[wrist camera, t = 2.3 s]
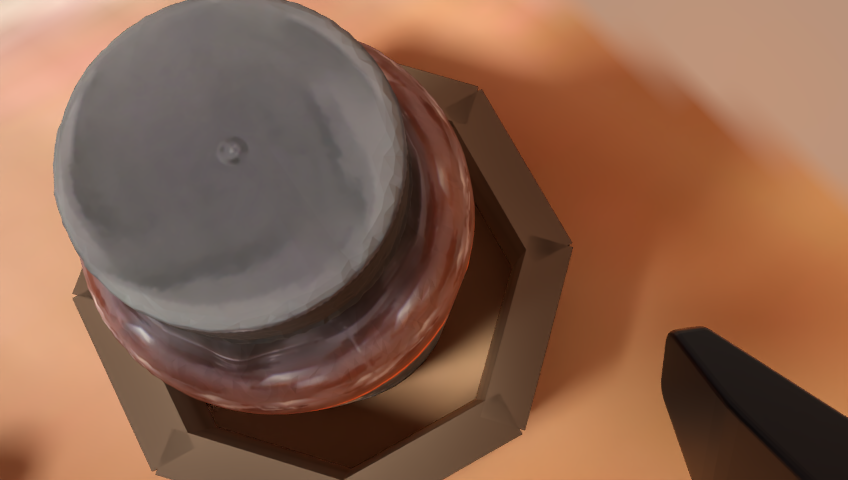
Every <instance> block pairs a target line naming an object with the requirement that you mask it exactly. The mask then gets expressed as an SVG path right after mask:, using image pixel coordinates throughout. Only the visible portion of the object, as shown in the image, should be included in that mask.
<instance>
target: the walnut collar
mask: <svg viewBox="0 0 848 480" xmlns="http://www.w3.org/2000/svg"><path fill="white" fill-rule="evenodd" d="M399 65H400V66H402V67H403V68H404V69H405V70H406V71H407V72H408V73H409V74H410V75H412V76H413V77H414V78H415V79H416V80H417V81H418V82H419V83H420V84H421V85H422V86H423V87H424V88H425V89H426V90H427V92H428V93H429V94H430V95H431V96H432V97H433V98H434V99H435V101H436V102H437V103H438V105H439V106H440V108H441V109H442V110H443V112H444V114H445V115H446V117H447V119H448V121H449V123H450V124H451V126H452V127H453V130H454V132H455V134H456V136H457V138H458V140H459V142H460V145H461V147H462V150H463V152H464V155H465V159H466V163H467V167H468V171H469V175H470V180H471V185H472V190H473V197H474V202H475V203H476V205H477V207H478V209H479V211H480V212H481V214H482V216H483V218H484V219H485V221H486V223H487V225H488V226H489V228H490V230H491V232H492V233H493V235H494V237H495V239H496V240H497V242H498V244H499V246H500V247H501V249H502V251H503V253H504V254H505V256H506V258H507V260H508V261H509V263H510V265H511V267H512V269H511V272H510V276H509V280H508V283H507V287H506V290H505V294H504V298H503V301H502V305H501V309H500V312H499V316H498V319H497V323H496V327H495V330H494V334H493V338H492V341H491V345H490V348H489V352H488V356H487V359H486V363H485V367H484V370H483V374H482V377H481V381H480V385H479V388H478V392H477V396H476V399H475V400H473V401H471V402H470V403H468V404H466V405H464V406H462V407H461V408H459V409H457V410H455V411H453V412H452V413H450V414H448V415H446V416H445V417H443V418H441V419H439V420H437V421H436V422H434V423H432V424H430V425H428V426H427V427H425V428H423V429H421V430H420V431H418V432H416V433H414V434H412V435H411V436H409V437H407V438H405V439H404V440H402V441H400V442H398V443H396V444H395V445H393V446H391V447H389V448H387V449H386V450H384V451H382V452H380V453H379V454H377V455H375V456H373V457H371V458H370V459H368V460H366V461H364V462H362V463H361V464H359V465H357V466H355V467H354V468H349V467H345V466H342V465H339V464H336V463H332V462H329V461H326V460H323V459H319V458H316V457H313V456H310V455H306V454H303V453H300V452H297V451H293V450H290V449H287V448H283V447H280V446H277V445H274V444H270V443H267V442H264V441H261V440H257V439H254V438H251V437H248V436H244V435H241V434H238V433H235V432H231V431H228V430H225V429H222V428H218V427H217V426H216V424H215V422H214V420H213V417H212V415H211V413H210V411H209V409H208V407H207V405H206V403H205V402H203V401H200V400H197V399H195V398H192V397H190V396H188V395H186V394H184V393H182V392H180V391H179V390H177V389H175V388H173V387H171V386H170V385H168V384H166V383H165V382H163V381H162V380H161V379H159V378H157V377H156V376H154V375H152V374H151V373H150V372H149V371H148V370H147V369H146V368H144V367H143V366H141V365H140V364H139V363H138V362H136V361H135V360H134V359H133V358H132V356H131V355H130V354H129V353H128V351H127V350H126V349H125V348H124V347H123V346H122V345H121V344H120V343H119V342H118V340H117V339H116V338H115V337H114V335H113V334H112V332H111V330H110V329H109V328H108V326H107V325H106V324H105V322H104V321H103V319H102V317H101V315H100V313H99V311H98V310H97V308H96V306H95V303H94V300H93V298H92V295H91V293H90V291H89V289H88V287H87V282H86V279H85V276H84V272H83V268H82V270H81V273H80V275H79V278H78V281H77V283H76V286H75V288H74V291H73V293H72V294H75V295H78V296H76V297H74V298H73V301H74V303H75V305H76V307H77V309H78V311H79V314H80V316H81V318H82V320H83V322H84V324H85V327H86V329H87V331H88V333H89V335H90V338H91V340H92V342H93V344H94V346H95V348H96V351H97V353H98V355H99V357H100V359H101V362H102V364H103V366H104V368H105V370H106V372H107V375H108V377H109V379H110V381H111V383H112V386H113V388H114V390H115V392H116V394H117V396H118V399H119V401H120V403H121V405H122V407H123V410H124V412H125V414H126V416H127V418H128V420H129V423H130V425H131V427H132V429H133V431H134V433H135V436H136V438H137V440H138V442H139V444H140V447H141V449H142V451H143V453H144V455H145V457H146V460H147V462H148V464H149V466H150V468H151V471H155V470H157V471H156V474H155V475H158V476H162V477H165V478H168V479H171V480H443V479H444V478H446V477H448V476H450V475H451V474H453V473H455V472H457V471H458V470H460V469H462V468H464V467H465V466H467V465H469V464H471V463H472V462H474V461H476V460H478V459H480V458H481V457H483V456H485V455H487V454H488V453H490V452H492V451H494V450H495V449H497V448H499V447H501V446H502V445H504V444H506V443H508V442H509V441H511V440H513V439H515V438H516V437H518V436H520V435H522V433H521V431H520V429H522V430H525V429H526V425H527V421H528V417H529V413H530V410H531V406H532V402H533V398H534V394H535V390H536V387H537V383H538V379H539V375H540V371H541V367H542V364H543V360H544V356H545V352H546V348H547V345H548V341H549V337H550V333H551V329H552V325H553V322H554V318H555V314H556V310H557V306H558V302H559V299H560V295H561V291H562V287H563V283H564V279H565V276H566V272H567V268H568V264H569V260H570V256H571V253H572V249H573V247H570V245H571V244H572V242H571V240H570V238H569V236H568V235H567V233H566V231H565V230H564V228H563V226H562V225H561V223H560V221H559V220H558V218H557V216H556V214H555V213H554V211H553V209H552V208H551V206H550V204H549V203H548V201H547V199H546V197H545V196H544V194H543V192H542V191H541V189H540V187H539V186H538V184H537V182H536V181H535V179H534V177H533V175H532V174H531V172H530V170H529V169H528V167H527V165H526V164H525V162H524V160H523V158H522V157H521V155H520V153H519V152H518V150H517V148H516V147H515V145H514V143H513V142H512V140H511V138H510V136H509V135H508V133H507V131H506V130H505V128H504V126H503V125H502V123H501V121H500V119H499V118H498V116H497V114H496V113H495V111H494V109H493V108H492V106H491V104H490V103H489V101H488V99H487V97H486V96H485V94H484V92H483V91H482V89H481V90H479V91H477V90H478V86H475V85H471V84H467V83H464V82H460V81H457V80H453V79H450V78H446V77H443V76H439V75H436V74H432V73H429V72H425V71H422V70H418V69H415V68H411V67H408V66H404V65H401V64H399Z"/></svg>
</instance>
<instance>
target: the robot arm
mask: <svg viewBox="0 0 848 480" xmlns="http://www.w3.org/2000/svg"><path fill="white" fill-rule="evenodd" d="M661 388H662V394H663V399H664V402H665V405H666V408H667V410H668V413H669V416H670V419H671V422H672V425H673V428H674V430H675V433H676V436H677V439H678V442H679V445H680V448H681V450H682V453H683V456H684V459H685V462H686V465H687V468H688V471H689V473H690V476H691V479H692V480H848V418H847V417H846V416H844V415H843V414H841V413H840V412H838V411H837V410H835V409H833V408H832V407H830V406H829V405H827V404H826V403H824V402H822V401H821V400H819V399H818V398H816V397H815V396H813V395H812V394H810V393H808V392H807V391H805V390H804V389H802V388H801V387H799V386H797V385H796V384H794V383H793V382H791V381H790V380H788V379H787V378H785V377H783V376H782V375H780V374H779V373H777V372H776V371H774V370H773V369H771V368H769V367H768V366H766V365H765V364H763V363H762V362H760V361H758V360H757V359H755V358H754V357H752V356H751V355H749V354H748V353H746V352H744V351H743V350H741V349H740V348H738V347H737V346H735V345H733V344H732V343H730V342H729V341H727V340H726V339H724V338H723V337H721V336H719V335H718V334H716V333H715V332H713V331H712V330H710V329H708V328H706V327H702V326H697V327H691V328H684V329H677V330H673V331H671V332H670V333H669V334H668V336H667V338H666V344H665V352H664V361H663V369H662V377H661Z"/></svg>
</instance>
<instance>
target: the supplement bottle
mask: <svg viewBox="0 0 848 480" xmlns="http://www.w3.org/2000/svg"><path fill="white" fill-rule="evenodd" d="M53 171H54V195H55V199H56V203H57V207H58V210H59V213H60V215H61V218H62V223H63V225H64V227H65V229H66V231H67V233H68V235H69V238H70V240H71V242H72V244H73V246H74V248H75V250H76V252H77V253H78V255H79V256H80V260H81V264H82V268H83V272H84V276H85V279H86V282H87V287H88V289H89V291H90V293H91V295H92V298H93V300H94V303H95V306H96V308H97V310H98V311H99V313H100V315H101V317H102V319H103V321H104V322H105V324H106V325H107V326H108V328H109V329H110V330H111V332H112V334H113V335H114V337H115V338H116V339H117V340H118V342H119V343H120V344H121V345H122V346H123V347H124V348H125V349H126V350H127V351H128V353H129V354H130V355H131V356H132V358H133V359H134V360H135V361H136V362H138V363H139V364H140V365H141V366H143V367H144V368H146V369H147V370H148V371H149V372H150V373H151V374H152V375H154V376H156V377H157V378H159V379H161V380H162V381H163V382H165V383H166V384H168V385H170V386H171V387H173V388H175V389H177V390H179V391H180V392H182V393H184V394H186V395H188V396H190V397H192V398H195V399H197V400H200V401H203V402H206V403H209V404H212V405H215V406H218V407H222V408H226V409H230V410H235V411H241V412H247V413H254V414H295V413H303V412H311V411H316V410H321V409H327V408H333V407H338V406H341V405H346V404H349V403H352V402H355V401H359V400H363V399H367V398H369V397H372V396H376V395H377V394H379V393H382V392H384V391H386V390H388V389H390V388H392V387H394V386H396V385H397V384H399V383H400V382H402V381H403V380H404V379H406V378H407V377H408V376H410V375H411V374H412V373H413V372H414V371H415V370H416V369H417V368H418V367H419V366H420V365H422V363H423V362H424V361H425V360H426V358H427V357H428V356H429V354H430V353H431V352H432V350H433V349H434V347H435V346H436V344H437V342H438V340H439V338H440V336H441V333H442V330H443V328H444V326H445V323H446V321H447V319H448V316H449V313H450V311H451V309H452V306H453V304H454V301H455V298H456V296H457V294H458V291H459V289H460V286H461V283H462V281H463V278H464V276H465V273H466V270H467V268H468V264H469V259H470V254H471V249H472V244H473V236H474V222H475V205H474V197H473V190H472V185H471V180H470V175H469V171H468V167H467V163H466V159H465V155H464V152H463V150H462V147H461V145H460V142H459V140H458V138H457V136H456V134H455V132H454V130H453V127H452V126H451V124H450V123H449V121H448V119H447V117H446V115H445V114H444V112H443V110H442V109H441V108H440V106H439V105H438V103H437V102H436V101H435V99H434V98H433V97H432V96H431V95H430V94H429V93H428V92H427V90H426V89H425V88H424V87H423V86H422V85H421V84H420V83H419V82H418V81H417V80H416V79H415V78H414V77H413V76H412V75H410V74H409V73H408V72H407V71H406V70H405V69H404V68H403V67H402V66H400V65H399V64H397V63H396V62H394V61H393V60H391V59H390V58H388V57H387V56H385V55H384V54H382V53H381V52H380V51H378V50H376V49H374V48H373V47H371V46H369V45H366V44H364V43H361V42H359V41H357V40H356V39H354V38H353V37H352V35H351V34H350V33H349V32H347V31H346V30H344V29H343V28H341V27H340V26H339V25H337V24H336V23H335V22H334V21H332V20H330V19H329V18H327V17H325V16H323V15H321V14H319V13H317V12H316V11H314V10H311V9H309V8H307V7H304V6H302V5H300V4H298V3H295V2H289V1H286V0H186V1H183V2H180V3H176V4H173V5H170V6H168V7H165V8H163V9H161V10H159V11H157V12H155V13H153V14H151V15H148V16H146V17H144V18H143V19H142V20H140V21H139V22H138V23H136V24H134V25H133V26H131V27H129V28H128V29H126V30H125V31H124V32H123V33H121V34H120V35H119V36H118V37H117V38H115V39H114V40H113V41H112V42H111V43H110V44H109V45H108V47H107V48H105V49H104V50H103V51H101V53H100V54H99V55H98V56H97V57H96V58H95V59H94V60H93V62H92V63H91V64H90V65H89V66H88V67H87V69H86V70H85V72H84V74H83V75H82V77H81V78H80V80H79V82H78V83H77V85H76V86H75V88H74V91H73V93H72V95H71V97H70V100H69V102H68V104H67V107H66V109H65V112H64V116H63V119H62V123H61V125H60V126H59V128H58V132H57V137H56V144H55V152H54V162H53Z"/></svg>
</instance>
